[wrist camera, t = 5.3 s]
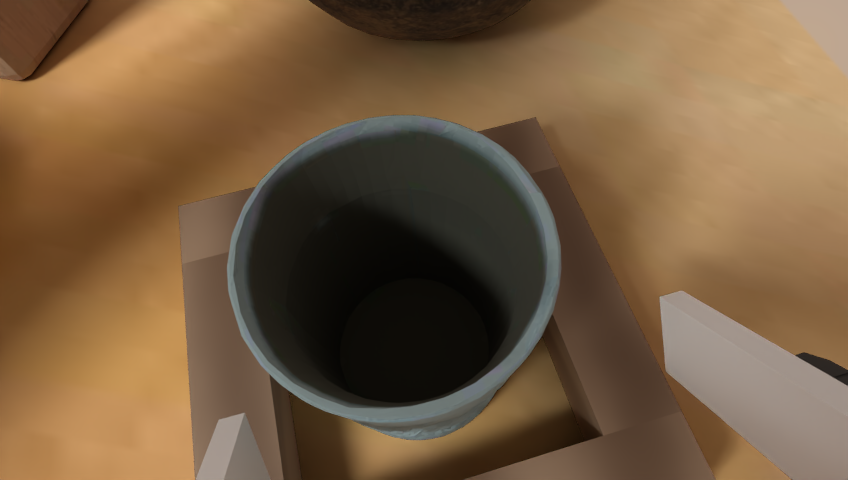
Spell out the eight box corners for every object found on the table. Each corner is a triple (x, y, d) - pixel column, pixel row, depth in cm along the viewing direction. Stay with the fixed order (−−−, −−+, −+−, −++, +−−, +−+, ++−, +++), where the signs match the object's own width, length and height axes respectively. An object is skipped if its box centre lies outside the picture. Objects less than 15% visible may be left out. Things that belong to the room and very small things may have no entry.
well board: (238, 653, 20) (207, 676, 18) (202, 232, 29) (178, 206, 27) (693, 502, 22) (727, 502, 19) (527, 150, 31) (535, 117, 28)
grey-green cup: (480, 490, 23) (511, 481, 12) (280, 412, 25) (153, 345, 14) (535, 290, 27) (593, 153, 16) (360, 237, 29) (311, 82, 18)
